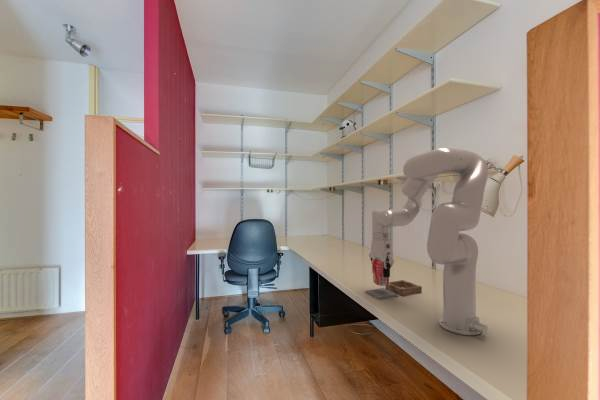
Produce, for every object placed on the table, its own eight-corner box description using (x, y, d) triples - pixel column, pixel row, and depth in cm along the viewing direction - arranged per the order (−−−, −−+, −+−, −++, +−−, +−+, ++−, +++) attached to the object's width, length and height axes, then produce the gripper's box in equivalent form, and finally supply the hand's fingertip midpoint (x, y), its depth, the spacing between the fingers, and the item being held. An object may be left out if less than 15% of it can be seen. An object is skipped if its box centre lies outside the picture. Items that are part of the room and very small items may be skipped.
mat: (397, 296, 120) (397, 294, 120) (379, 299, 116) (379, 297, 116) (382, 290, 129) (382, 287, 129) (365, 292, 125) (365, 290, 125)
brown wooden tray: (421, 292, 125) (421, 286, 125) (402, 296, 120) (402, 289, 120) (403, 285, 135) (403, 280, 135) (385, 288, 131) (385, 282, 131)
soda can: (379, 280, 128) (379, 255, 128) (392, 284, 122) (392, 258, 122) (369, 283, 124) (369, 257, 124) (382, 287, 118) (382, 260, 118)
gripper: (400, 238, 116) (401, 279, 116) (375, 233, 132) (375, 269, 132) (387, 239, 113) (387, 281, 113) (362, 234, 129) (362, 271, 129)
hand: (380, 274), depth 123 cm, fingers closed on soda can, 7 cm apart
